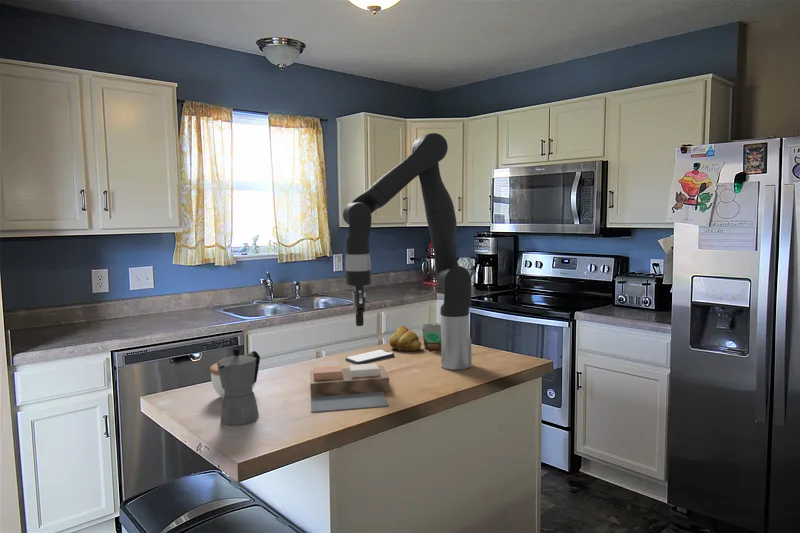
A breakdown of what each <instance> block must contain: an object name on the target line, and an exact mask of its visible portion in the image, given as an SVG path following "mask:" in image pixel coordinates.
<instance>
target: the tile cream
mask: <svg viewBox="0 0 800 533" xmlns="http://www.w3.org/2000/svg"><path fill="white" fill-rule="evenodd" d="M348 366H349V367H348V368H349V372H350V375H351V378H352V377H365V376H379V368H378V366H379V365H378V364H377V363H375V362H374V363H365V364H359V365H358V364H349V365H348Z"/></svg>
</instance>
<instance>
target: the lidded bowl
mask: <svg viewBox="0 0 800 533" xmlns="http://www.w3.org/2000/svg"><path fill="white" fill-rule="evenodd" d="M209 370H210V379H211V384H212V387H213V389H214V392H216V394H218V396H220V397H221V398H222V400H223V397H224V395H225V391H224V389H223V388H222V384H221V380H220V375H219V370H218V366H217V362H216V363H214V364H212V365H210V368H209ZM256 383H257V381H256V382H255V383H254V384H253V386H252V391H253V390H254V388H255V386H256Z"/></svg>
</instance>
